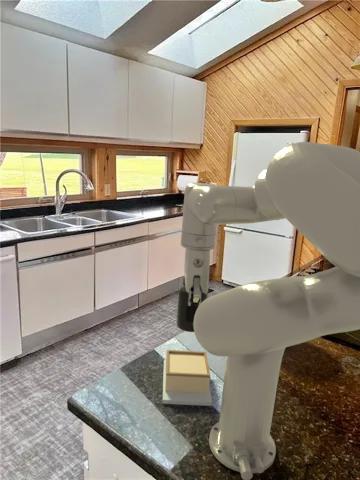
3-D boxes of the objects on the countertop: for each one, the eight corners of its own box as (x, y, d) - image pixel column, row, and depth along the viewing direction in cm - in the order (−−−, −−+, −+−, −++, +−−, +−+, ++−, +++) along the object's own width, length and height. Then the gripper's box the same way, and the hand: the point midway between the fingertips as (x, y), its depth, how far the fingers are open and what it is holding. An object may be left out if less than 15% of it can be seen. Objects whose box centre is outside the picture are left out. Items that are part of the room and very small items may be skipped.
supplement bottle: (205, 321, 86) (210, 274, 83) (204, 334, 79) (209, 284, 76) (177, 318, 86) (181, 271, 83) (174, 331, 79) (177, 281, 77)
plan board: (211, 405, 78) (214, 383, 77) (162, 403, 78) (164, 381, 77) (204, 364, 94) (206, 345, 93) (163, 362, 93) (165, 343, 92)
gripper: (220, 250, 70) (211, 333, 74) (210, 232, 86) (204, 300, 90) (182, 248, 69) (175, 331, 73) (180, 230, 86) (174, 298, 90)
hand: (191, 313), depth 82 cm, fingers closed on supplement bottle, 6 cm apart
